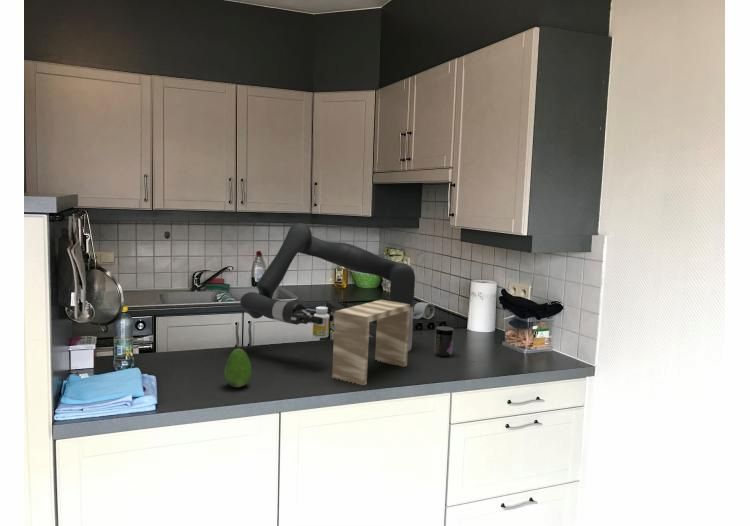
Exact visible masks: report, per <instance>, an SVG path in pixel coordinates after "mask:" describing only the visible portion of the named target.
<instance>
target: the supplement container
mask: <svg viewBox="0 0 750 526" xmlns="http://www.w3.org/2000/svg"><path fill="white" fill-rule="evenodd" d="M454 331H455V330H454V328H453V327H450V326H443V325H441V326H440V325H439V326H436V327H435V336H434V355H435V356H436V357H437V358H438V357H439V358H450V357H452V355H453V344H454Z"/></svg>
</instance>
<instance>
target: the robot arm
mask: <svg viewBox="0 0 750 526" xmlns="http://www.w3.org/2000/svg"><path fill="white" fill-rule="evenodd" d="M298 253H299V254H303V255H307V256H309V257H310V256H311V257H314V258H315V257H316V258H319V259H321V260H324V261H326V262H328V263H332V264H333V265H334V264H335V265H338V267H342V268H345V269H346V270H347V269H348V270H350V271H353V272H357V273H362V274H365V275H366V274H368V275H372V276H377V277H380V278H383V279H385V280H387V281H389V299H388V301H392V302H398V303H405V304H410V316H409V335H408V352H410V351H411V350H412V347H413V346H412V344H413V329H414V328H413V326H414V325H413V320H414V319H413V312H414V299H415V285H416V274H415V271H414V269H413V267H412V266H411V265H409V264H407V263H404V262H400V261H395V260H391V259H387V258H384V257H382V256H381V255H380V256H379V255H378V254H375V253H374V252H371V251H368V250H366V249H364V248H361V247H358V246H356V245H354V244H352V243H351V244H350V243H347V242H335V241H328V240H322V239H320V238H318V237H316V236H313V234H312V231H311V228H310V226H308V225H307V224H305V223H303V222H299V223H298V222H297V223H294V224H293V225H292V226H291V227H289V229H288V231H287V234H286V237H285V238H284V240H283V242H282V245H281V246H280V248H279V250H278V252H277V253H276V255H275V256H274V258H273V259H272V260H271V262H270V264H269V265H268V267H267V268H266V269H265V271H264V272H263V274H262V275H261V277H260V278H259V280H258V281H257V283H256V288H257V291H258V292H254V291H250V292H249V291H248V292H246V293H245V294H243V295H242V296H241V297H240V300H239V304H240V306H241V307H240V308H242V309H243V310H244V312H246V313H247V314H248V315H249V316H251V317H252V318H253V319H261V318H262V317H265V318H267V319H269V320H270V319H271V320H275V321H278V322H281V323H286V324H291V325H297V326H298V325H300V324H302V325H303V324H304V325H307V324H313V323H316V324H323V318H322V317H316V316H314V314H315V313H316V308H314V309H311V308H306V307H305V305H304V304H302V303H301V302H297V301H296V302H295V301H291V300H290V301H289V300H282V299H275V298H273V296H274V293H275V291H276V290H277V289H278V288H279V286H280V285H281V283H282V281H283V279H284V278H285V276H286V274H287V272H288V269H289V268H290V266H291V264H292V262H293V260H294V259H295V257H296V256H297V254H298ZM328 314H329V322H334V316H335V314H331V313H328Z"/></svg>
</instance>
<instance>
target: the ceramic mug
mask: <svg viewBox="0 0 750 526" xmlns="http://www.w3.org/2000/svg"><path fill="white" fill-rule="evenodd" d="M434 314H435V306H434V304H433V303H430V302H424V301H423V302H422V301H420V302H417V303H416V304H414V305H413V320H419V319H421V318H423V319H426V320H430V319H431V318H433V317H434Z"/></svg>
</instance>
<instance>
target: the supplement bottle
mask: <svg viewBox="0 0 750 526" xmlns="http://www.w3.org/2000/svg"><path fill="white" fill-rule="evenodd" d="M315 309H316V313H315V314H314V316H316V317H322V318H323V324H316V323H313V322H312V336H313V337H314V338H317V339H323V338H328V337H329V335H330V321H329V314H330V313H328V312H329V307H327V306H317V307H315Z"/></svg>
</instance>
